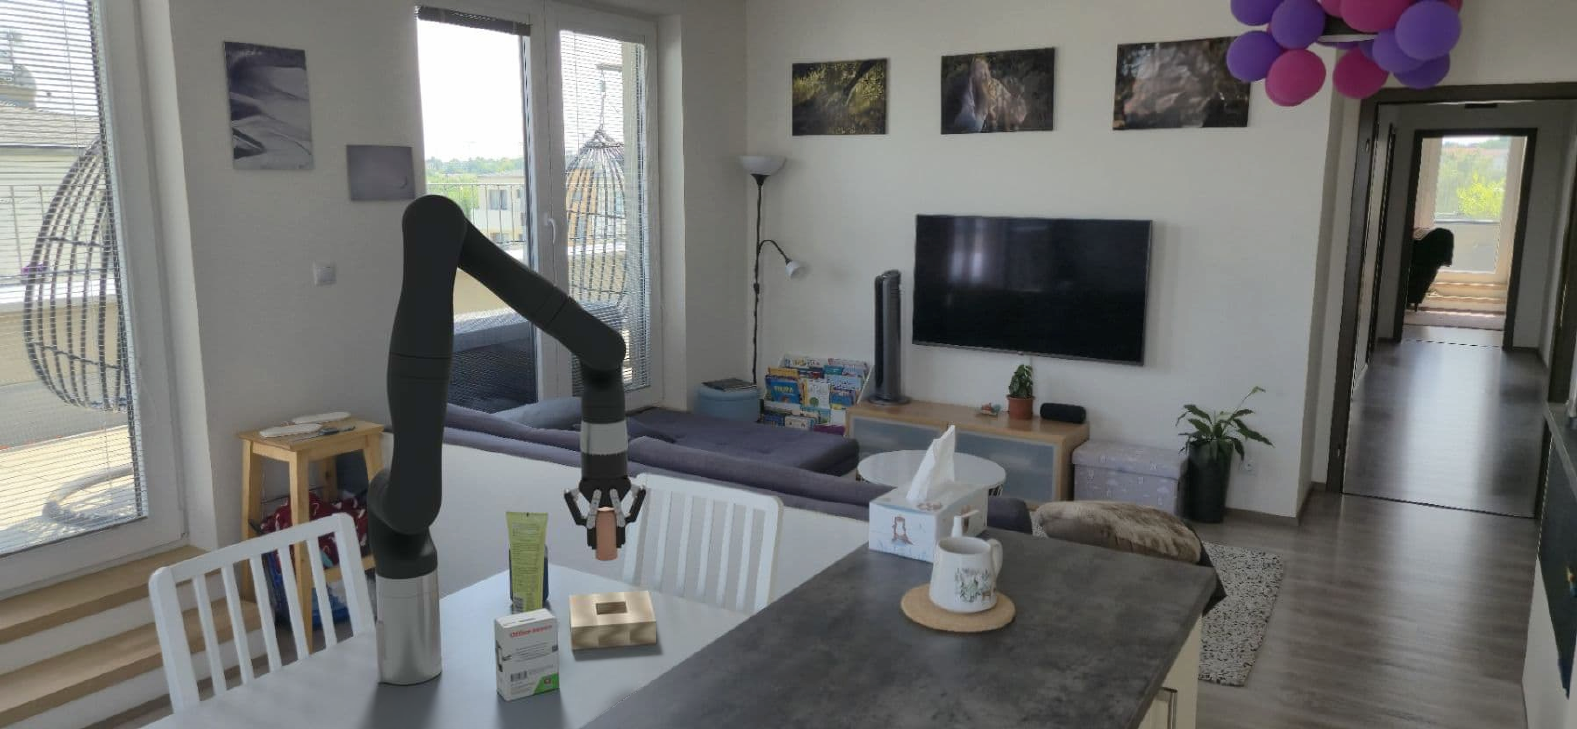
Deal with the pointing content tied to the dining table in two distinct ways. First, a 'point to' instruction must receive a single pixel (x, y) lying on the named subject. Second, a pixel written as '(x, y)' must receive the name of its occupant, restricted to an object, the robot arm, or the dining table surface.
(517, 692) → the ink box
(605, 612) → the socket
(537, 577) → the tube
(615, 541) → the peg
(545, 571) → the soda can
